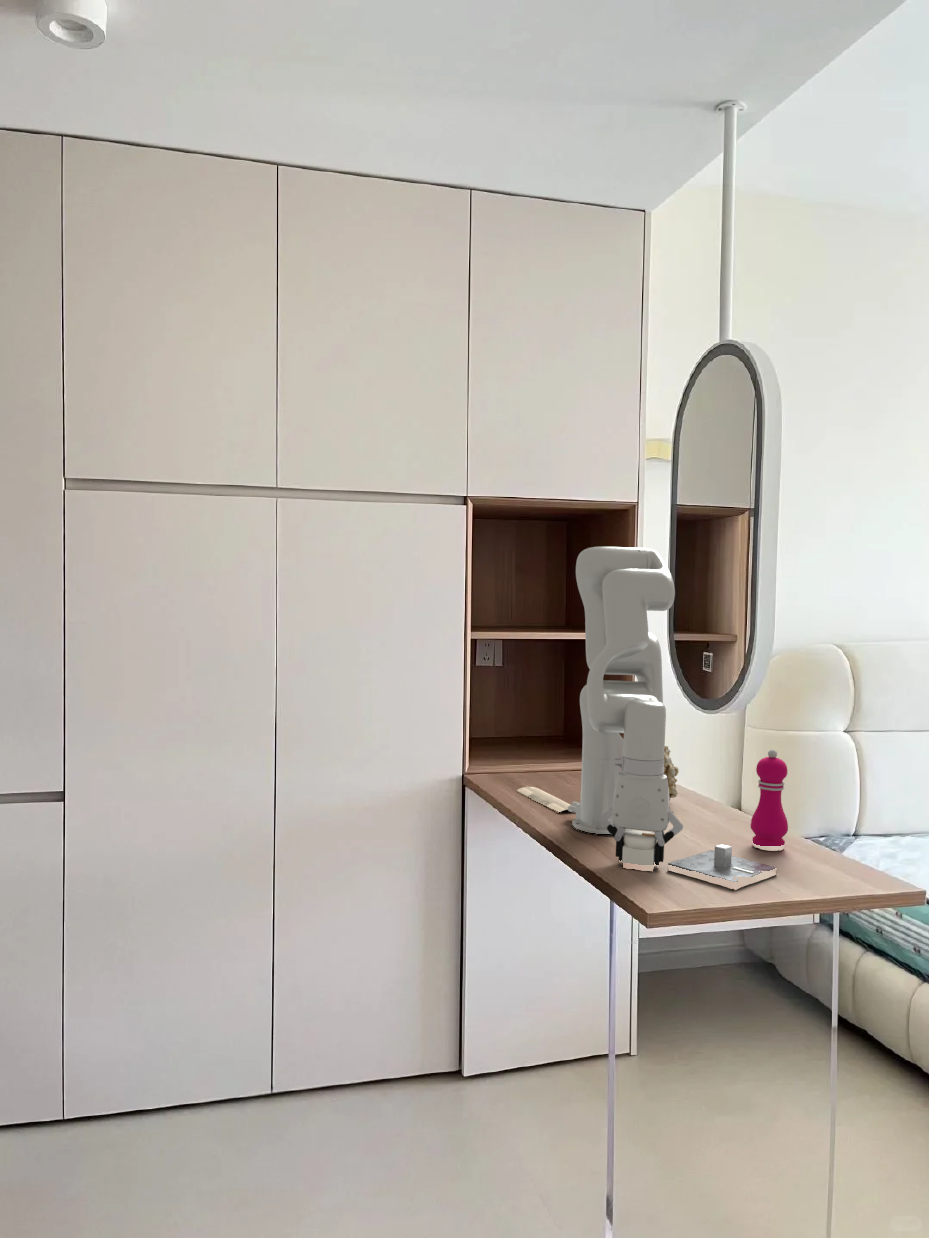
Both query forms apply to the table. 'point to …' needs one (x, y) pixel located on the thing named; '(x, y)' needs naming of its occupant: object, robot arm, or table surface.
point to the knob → (639, 847)
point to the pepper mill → (770, 802)
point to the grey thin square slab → (721, 864)
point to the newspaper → (544, 798)
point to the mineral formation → (670, 773)
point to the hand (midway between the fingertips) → (639, 862)
